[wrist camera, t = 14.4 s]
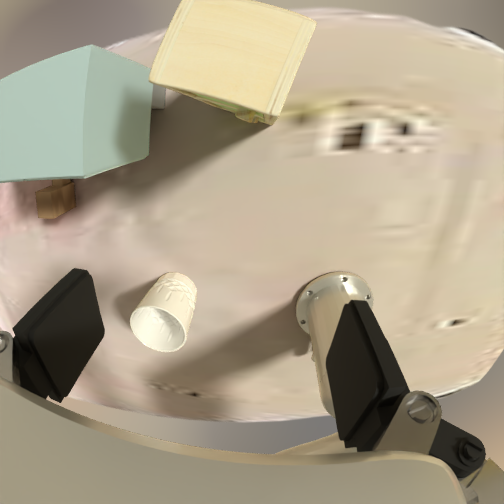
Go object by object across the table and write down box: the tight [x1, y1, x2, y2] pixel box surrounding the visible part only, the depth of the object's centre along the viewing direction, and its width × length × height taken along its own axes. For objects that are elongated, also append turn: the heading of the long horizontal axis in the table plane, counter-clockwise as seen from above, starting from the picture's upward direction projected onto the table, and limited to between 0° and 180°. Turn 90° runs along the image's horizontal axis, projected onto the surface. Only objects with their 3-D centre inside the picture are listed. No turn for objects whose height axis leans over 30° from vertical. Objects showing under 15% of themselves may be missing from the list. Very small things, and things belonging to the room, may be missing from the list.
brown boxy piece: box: [35, 179, 76, 219], centre depth 32 cm, size 13×4×6 cm, turn 175°
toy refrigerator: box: [148, 0, 317, 125], centre depth 21 cm, size 8×7×21 cm
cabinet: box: [0, 45, 166, 183], centre depth 24 cm, size 11×16×18 cm
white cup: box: [130, 272, 197, 352], centre depth 38 cm, size 8×8×10 cm
